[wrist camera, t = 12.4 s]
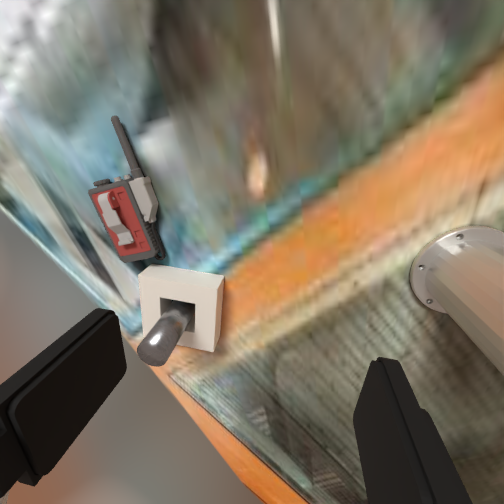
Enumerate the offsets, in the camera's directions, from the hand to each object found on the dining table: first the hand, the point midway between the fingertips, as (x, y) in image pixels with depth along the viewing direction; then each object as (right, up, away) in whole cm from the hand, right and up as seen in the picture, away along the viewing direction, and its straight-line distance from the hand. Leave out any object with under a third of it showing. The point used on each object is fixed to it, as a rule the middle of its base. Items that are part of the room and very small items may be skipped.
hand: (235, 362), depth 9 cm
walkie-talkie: (-17, +12, +28) cm, 36 cm away
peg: (-10, -4, +34) cm, 35 cm away
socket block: (-10, -4, +34) cm, 35 cm away
